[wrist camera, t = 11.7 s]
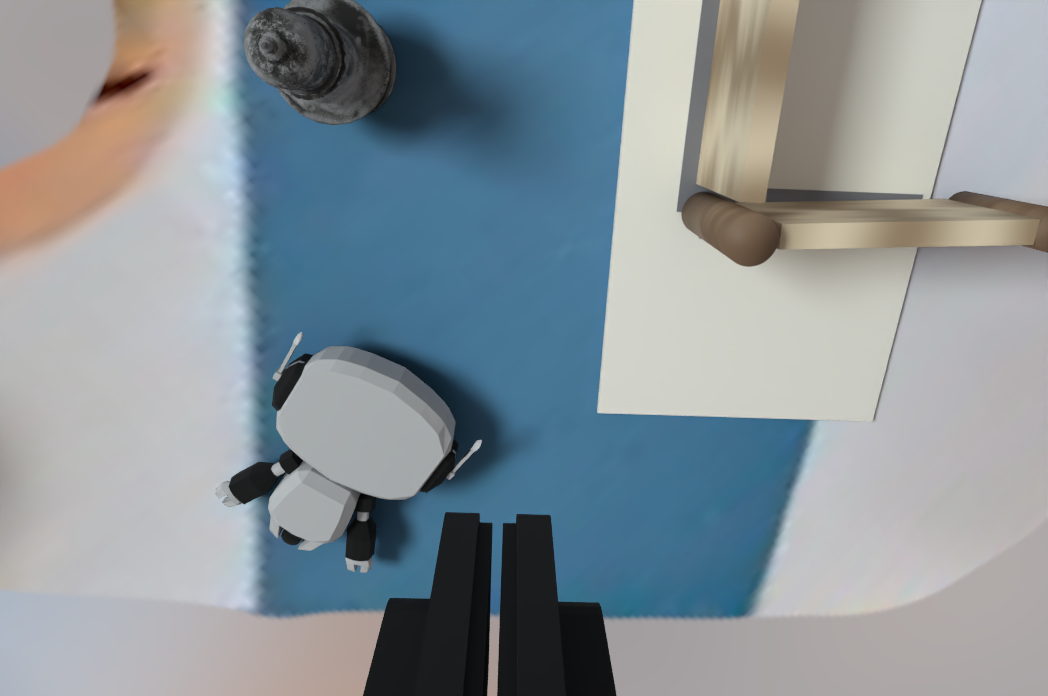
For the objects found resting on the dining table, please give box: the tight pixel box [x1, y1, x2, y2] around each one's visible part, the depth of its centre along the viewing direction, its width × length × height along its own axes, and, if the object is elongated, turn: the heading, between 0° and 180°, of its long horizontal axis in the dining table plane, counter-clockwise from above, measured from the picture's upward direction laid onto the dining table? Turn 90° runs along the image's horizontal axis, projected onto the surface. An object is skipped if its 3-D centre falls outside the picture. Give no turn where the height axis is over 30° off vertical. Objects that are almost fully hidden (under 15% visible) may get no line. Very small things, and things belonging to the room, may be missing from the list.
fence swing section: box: [736, 191, 1048, 252], centre depth 33 cm, size 14×2×7 cm, turn 91°
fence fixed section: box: [681, 0, 799, 267], centre depth 31 cm, size 17×2×9 cm, turn 178°
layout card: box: [597, 0, 982, 421], centre depth 37 cm, size 28×18×1 cm, turn 178°
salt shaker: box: [244, 0, 397, 125], centre depth 28 cm, size 6×6×12 cm
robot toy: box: [216, 332, 482, 573], centre depth 40 cm, size 12×4×15 cm
